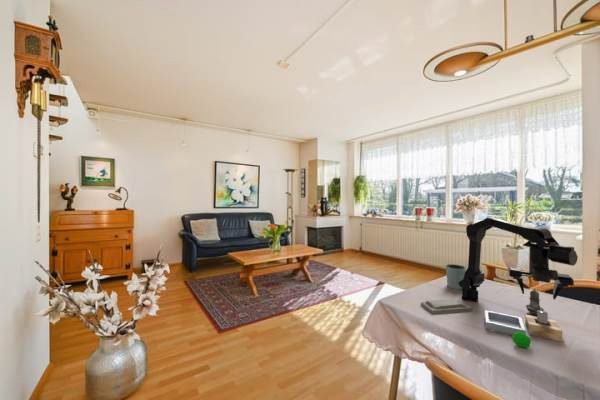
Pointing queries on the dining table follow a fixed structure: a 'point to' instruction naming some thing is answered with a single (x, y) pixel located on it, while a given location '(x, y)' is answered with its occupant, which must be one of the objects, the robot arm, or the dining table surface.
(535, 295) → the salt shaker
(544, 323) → the pin
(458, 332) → the dining table surface
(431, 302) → the grey stepped plate
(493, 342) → the dining table surface
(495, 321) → the tray
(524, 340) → the green ball
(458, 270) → the grey-blue cylindrical pot
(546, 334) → the square wooden frame
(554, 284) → the robot arm
